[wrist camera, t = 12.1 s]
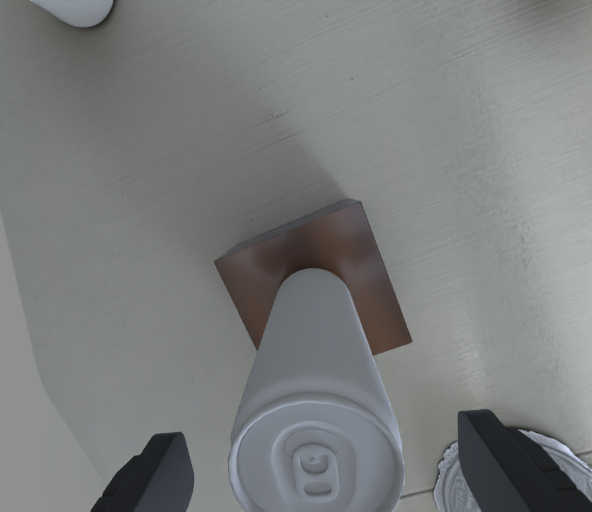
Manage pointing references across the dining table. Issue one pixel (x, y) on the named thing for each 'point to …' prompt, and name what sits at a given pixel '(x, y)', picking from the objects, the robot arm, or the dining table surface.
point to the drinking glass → (77, 10)
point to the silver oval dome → (458, 498)
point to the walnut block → (324, 255)
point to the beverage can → (315, 410)
